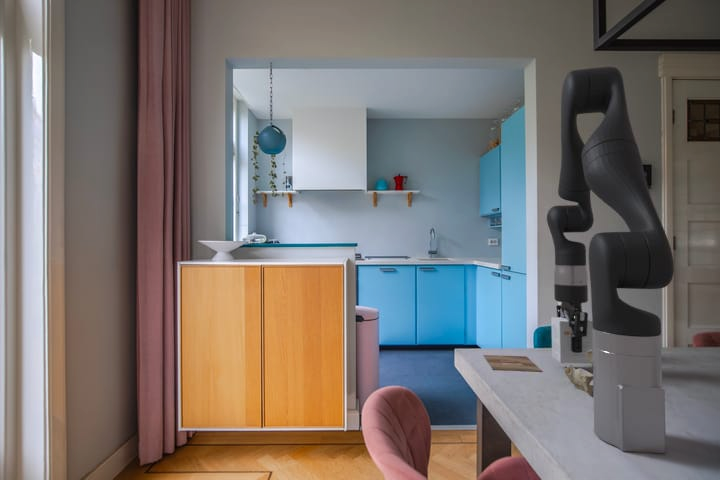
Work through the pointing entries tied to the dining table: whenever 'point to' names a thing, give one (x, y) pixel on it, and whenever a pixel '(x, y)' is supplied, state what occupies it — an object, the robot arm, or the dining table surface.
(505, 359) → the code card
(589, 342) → the small box
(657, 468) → the dining table surface
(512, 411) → the dining table surface
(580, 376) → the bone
